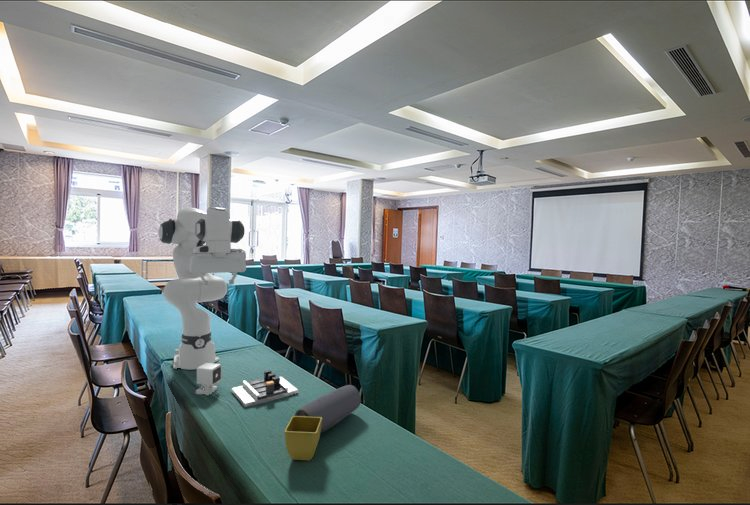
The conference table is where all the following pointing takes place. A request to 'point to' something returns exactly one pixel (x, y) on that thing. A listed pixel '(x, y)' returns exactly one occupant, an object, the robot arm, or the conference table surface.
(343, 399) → the bluetooth speaker
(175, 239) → the robot arm
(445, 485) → the conference table surface
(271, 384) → the handle
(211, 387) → the security camera
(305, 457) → the flower pot
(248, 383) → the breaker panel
